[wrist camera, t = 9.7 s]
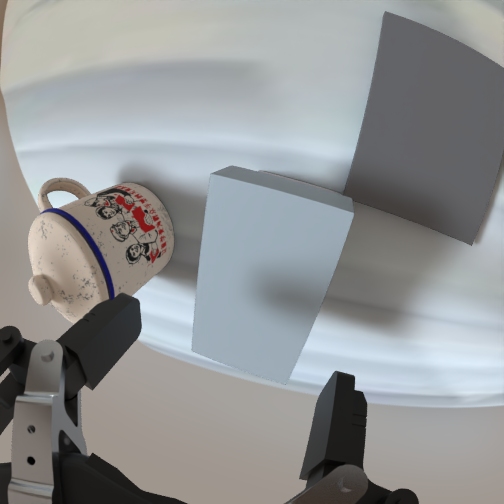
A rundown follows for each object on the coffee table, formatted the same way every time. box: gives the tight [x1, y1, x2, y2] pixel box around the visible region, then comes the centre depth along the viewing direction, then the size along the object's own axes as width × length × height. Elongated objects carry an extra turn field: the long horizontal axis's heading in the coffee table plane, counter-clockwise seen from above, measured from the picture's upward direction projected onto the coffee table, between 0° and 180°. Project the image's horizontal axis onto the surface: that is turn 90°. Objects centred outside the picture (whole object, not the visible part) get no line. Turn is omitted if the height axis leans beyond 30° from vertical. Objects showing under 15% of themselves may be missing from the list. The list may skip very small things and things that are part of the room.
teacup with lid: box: [28, 178, 174, 324], centre depth 19 cm, size 12×9×12 cm
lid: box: [192, 166, 354, 385], centre depth 15 cm, size 11×6×3 cm, turn 168°
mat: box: [343, 11, 504, 246], centre depth 14 cm, size 13×10×1 cm
